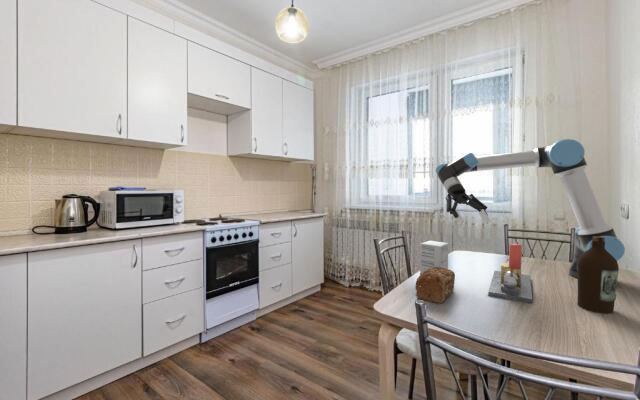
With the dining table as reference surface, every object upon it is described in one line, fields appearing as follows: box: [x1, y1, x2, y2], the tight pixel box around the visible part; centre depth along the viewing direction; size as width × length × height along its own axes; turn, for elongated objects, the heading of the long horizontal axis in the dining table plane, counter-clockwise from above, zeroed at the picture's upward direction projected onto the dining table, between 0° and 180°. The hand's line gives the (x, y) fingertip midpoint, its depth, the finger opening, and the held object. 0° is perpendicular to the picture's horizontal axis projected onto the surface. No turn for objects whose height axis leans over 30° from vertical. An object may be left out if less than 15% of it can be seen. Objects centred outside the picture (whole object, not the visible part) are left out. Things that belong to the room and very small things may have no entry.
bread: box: [415, 267, 456, 304], centre depth 119 cm, size 19×11×10 cm, turn 143°
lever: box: [506, 243, 523, 270], centre depth 122 cm, size 16×4×9 cm, turn 153°
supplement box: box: [419, 240, 449, 275], centre depth 137 cm, size 10×9×17 cm
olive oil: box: [577, 236, 620, 314], centre depth 106 cm, size 11×11×25 cm
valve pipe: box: [487, 261, 533, 304], centre depth 128 cm, size 34×14×11 cm, turn 146°
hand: (475, 222), depth 136 cm, fingers open, 13 cm apart
